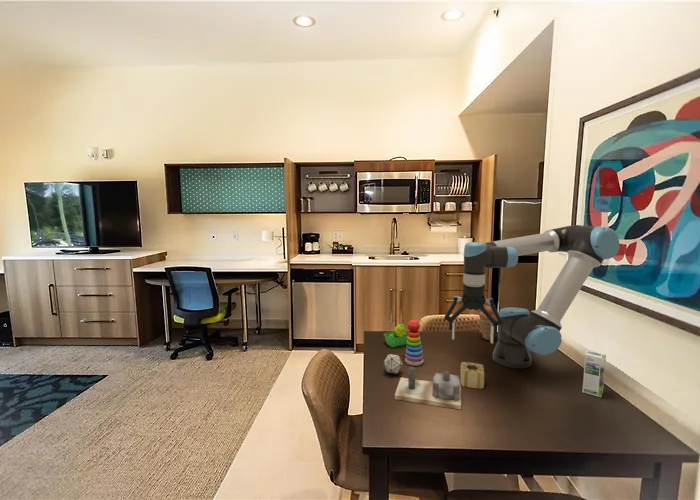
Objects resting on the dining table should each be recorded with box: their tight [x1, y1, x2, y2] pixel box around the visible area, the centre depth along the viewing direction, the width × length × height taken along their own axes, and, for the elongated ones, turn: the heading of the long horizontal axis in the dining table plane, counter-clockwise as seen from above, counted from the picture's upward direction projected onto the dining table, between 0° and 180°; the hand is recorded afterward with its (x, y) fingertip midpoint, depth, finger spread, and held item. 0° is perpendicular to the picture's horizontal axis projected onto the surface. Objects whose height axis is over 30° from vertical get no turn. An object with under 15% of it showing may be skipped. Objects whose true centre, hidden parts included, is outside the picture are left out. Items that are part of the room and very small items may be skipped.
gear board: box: [394, 366, 462, 410], centre depth 122 cm, size 22×13×9 cm, turn 72°
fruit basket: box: [383, 323, 409, 348], centre depth 166 cm, size 11×9×11 cm
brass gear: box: [459, 361, 485, 390], centre depth 130 cm, size 8×8×6 cm
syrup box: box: [581, 349, 607, 398], centre depth 122 cm, size 6×6×14 cm
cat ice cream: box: [478, 303, 498, 341], centre depth 170 cm, size 9×8×18 cm
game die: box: [381, 351, 405, 377], centre depth 138 cm, size 9×8×10 cm
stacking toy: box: [404, 319, 425, 367], centre depth 146 cm, size 8×8×19 cm
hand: (472, 340), depth 128 cm, fingers open, 13 cm apart
